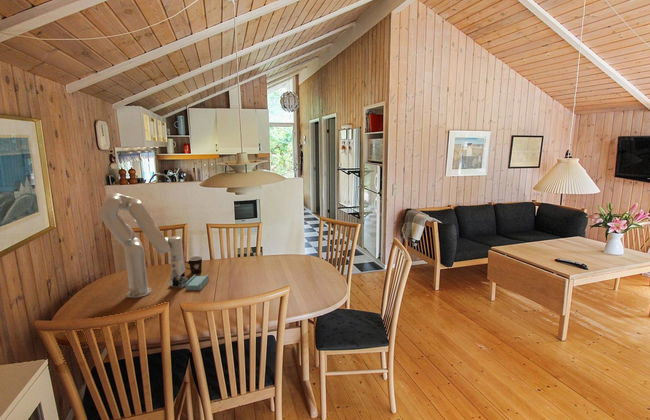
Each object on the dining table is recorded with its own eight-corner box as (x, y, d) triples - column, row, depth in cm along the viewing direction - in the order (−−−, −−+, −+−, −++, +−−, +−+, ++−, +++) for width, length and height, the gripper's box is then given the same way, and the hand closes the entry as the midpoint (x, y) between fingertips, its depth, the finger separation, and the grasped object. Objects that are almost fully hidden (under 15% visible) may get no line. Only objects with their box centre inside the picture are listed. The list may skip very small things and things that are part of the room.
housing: (182, 288, 217) (181, 279, 216) (169, 286, 220) (169, 277, 219) (188, 284, 223) (187, 275, 222) (176, 282, 226) (175, 273, 224)
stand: (200, 290, 214) (200, 283, 213) (185, 290, 214) (185, 283, 214) (208, 280, 228) (208, 274, 227) (194, 280, 228) (194, 274, 227)
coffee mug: (204, 269, 245) (203, 256, 243) (200, 274, 237) (199, 260, 235) (187, 270, 245) (186, 256, 243) (183, 275, 236) (181, 260, 234)
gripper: (176, 261, 209) (179, 289, 213) (188, 252, 226) (190, 277, 229) (163, 261, 209) (166, 289, 213) (176, 251, 226) (179, 277, 230)
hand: (179, 282), depth 221 cm, fingers open, 9 cm apart
